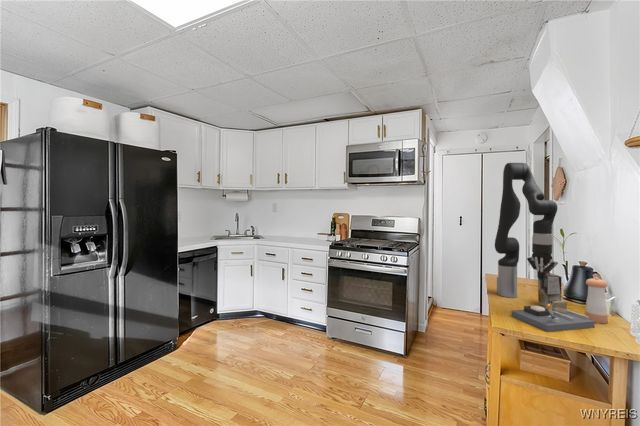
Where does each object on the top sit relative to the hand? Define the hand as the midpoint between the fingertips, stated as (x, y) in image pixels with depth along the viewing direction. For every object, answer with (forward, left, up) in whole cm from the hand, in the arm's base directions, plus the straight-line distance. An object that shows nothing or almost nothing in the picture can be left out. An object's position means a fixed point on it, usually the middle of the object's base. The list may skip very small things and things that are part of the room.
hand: (541, 279), depth 137 cm
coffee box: (-9, +15, -17) cm, 24 cm away
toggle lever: (+14, -9, -12) cm, 21 cm away
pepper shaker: (+11, +17, -17) cm, 26 cm away
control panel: (+8, -4, -16) cm, 19 cm away
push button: (+4, -6, -14) cm, 16 cm away
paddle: (+6, +3, -14) cm, 15 cm away
